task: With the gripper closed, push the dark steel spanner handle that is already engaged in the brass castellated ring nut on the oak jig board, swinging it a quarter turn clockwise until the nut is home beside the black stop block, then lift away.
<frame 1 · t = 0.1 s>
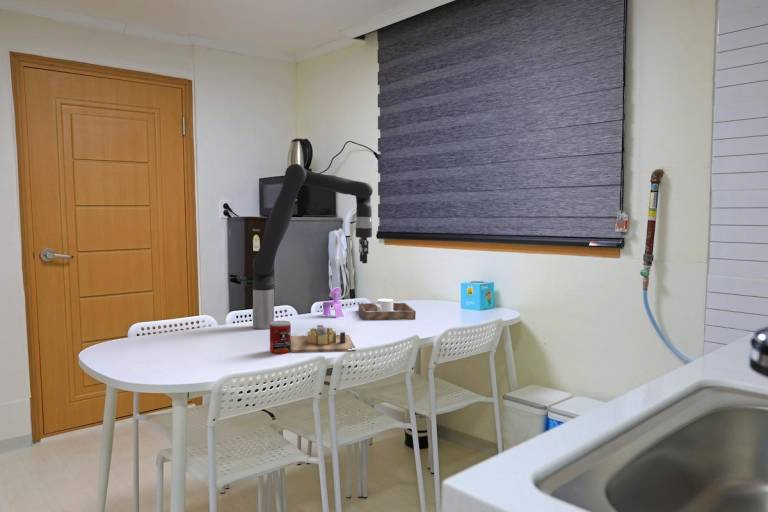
hand: (363, 262, 265), 29 cm above the table, tool pointing down, fingers open, 8 cm apart
jig board: (321, 344, 228), on the table
ring nut with spanner: (321, 333, 231), point 4 cm above the table, hinge at 0.0°
canned food: (280, 352, 216), on the table
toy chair: (333, 316, 289), on the table
tree stump: (385, 316, 294), resting in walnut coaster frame
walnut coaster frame: (385, 315, 294), on the table
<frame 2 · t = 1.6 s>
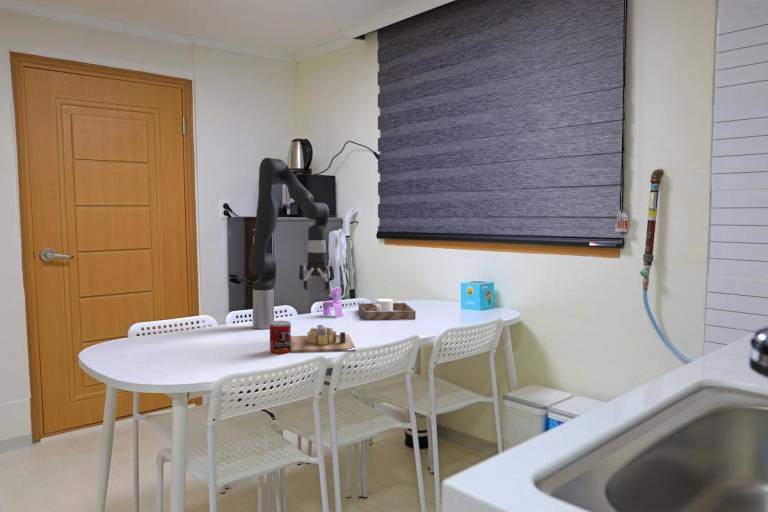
hand: (316, 290, 239), 20 cm above the table, tool pointing down, fingers open, 8 cm apart
nothing on the table moved.
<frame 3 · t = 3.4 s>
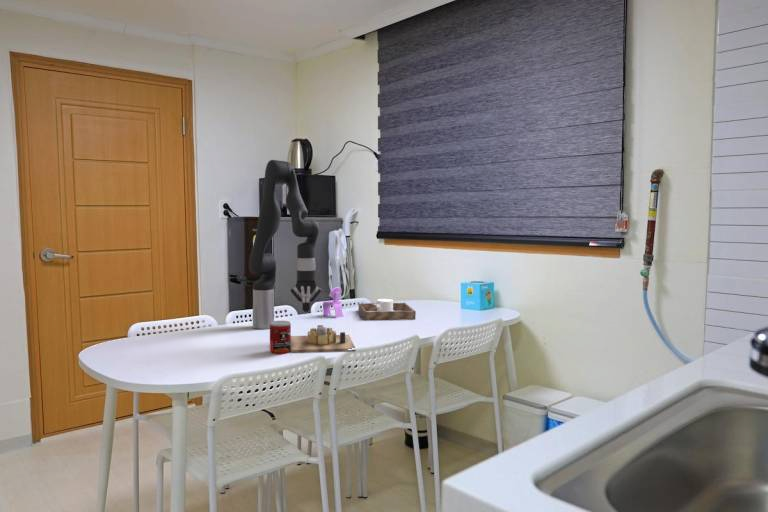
hand: (306, 311, 234), 12 cm above the table, tool pointing down, fingers closed
nothing on the table moved.
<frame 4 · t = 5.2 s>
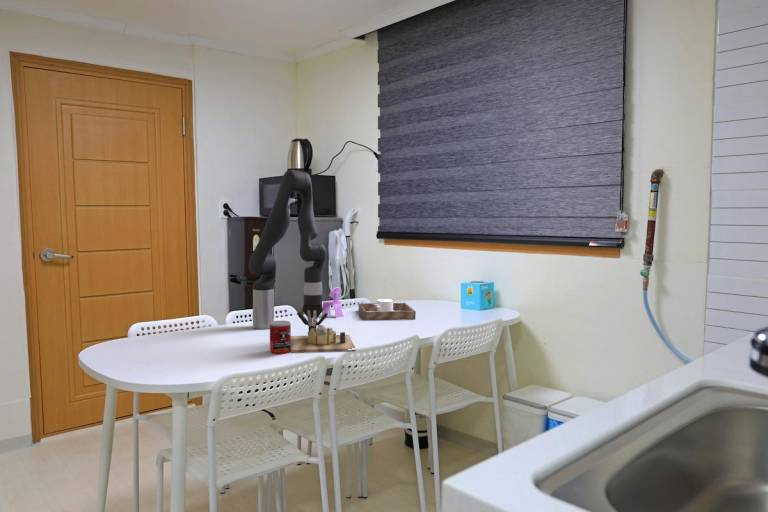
hand: (312, 335, 235), 2 cm above the table, tool pointing down, fingers closed
ring nut with spanner: (321, 333, 231), point 4 cm above the table, hinge at 1.6°, touching gripper
everything else where it was.
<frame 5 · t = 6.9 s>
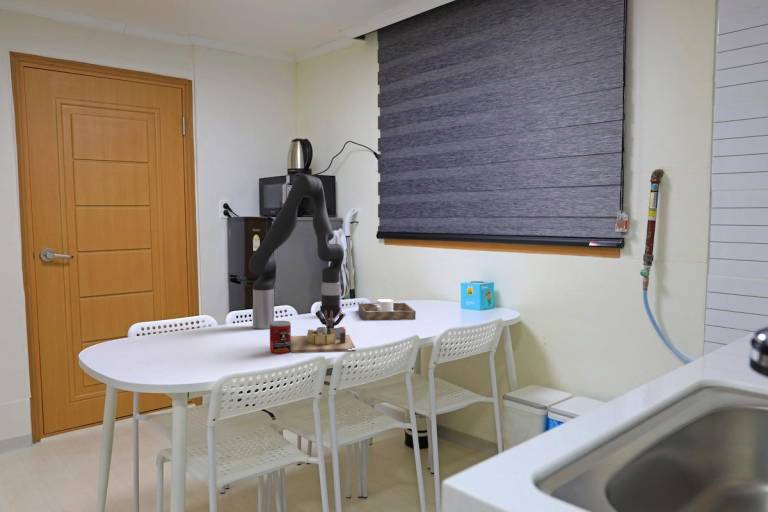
hand: (330, 335, 236), 2 cm above the table, tool pointing down, fingers closed
ring nut with spanner: (328, 334, 230), point 4 cm above the table, hinge at 54.7°, touching gripper
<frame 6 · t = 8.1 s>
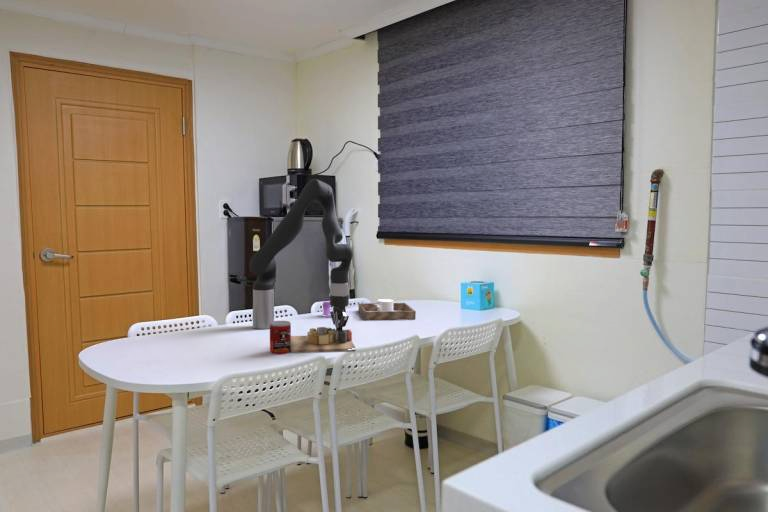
hand: (339, 336, 233), 2 cm above the table, tool pointing down, fingers closed
ring nut with spanner: (330, 335, 229), point 4 cm above the table, hinge at 85.7°, touching gripper
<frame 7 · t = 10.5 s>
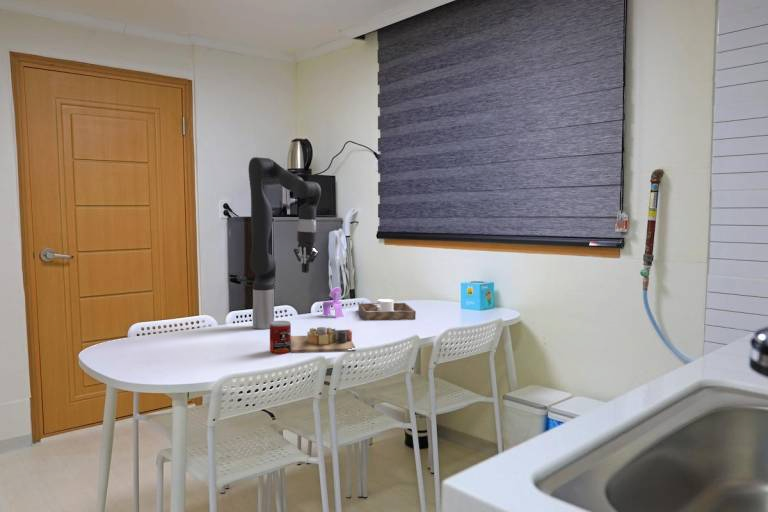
hand: (305, 272, 238), 27 cm above the table, tool pointing down, fingers closed
ring nut with spanner: (330, 335, 229), point 4 cm above the table, hinge at 86.2°
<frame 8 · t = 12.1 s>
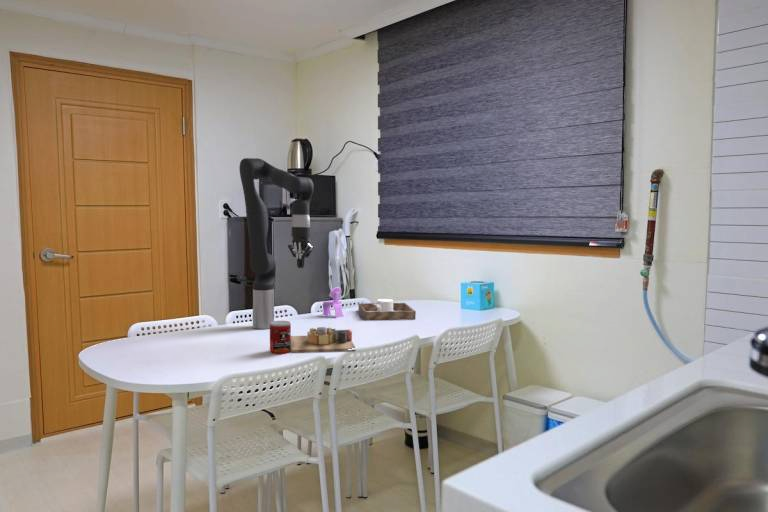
hand: (300, 267, 238), 29 cm above the table, tool pointing down, fingers closed
at the end: ring nut with spanner at +86° (first picture: +0°); ring nut with spanner touching nothing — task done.
